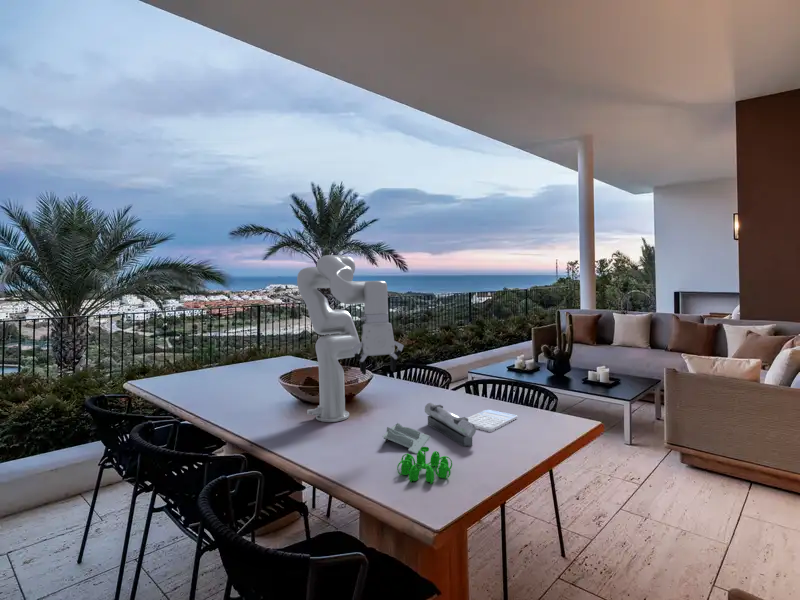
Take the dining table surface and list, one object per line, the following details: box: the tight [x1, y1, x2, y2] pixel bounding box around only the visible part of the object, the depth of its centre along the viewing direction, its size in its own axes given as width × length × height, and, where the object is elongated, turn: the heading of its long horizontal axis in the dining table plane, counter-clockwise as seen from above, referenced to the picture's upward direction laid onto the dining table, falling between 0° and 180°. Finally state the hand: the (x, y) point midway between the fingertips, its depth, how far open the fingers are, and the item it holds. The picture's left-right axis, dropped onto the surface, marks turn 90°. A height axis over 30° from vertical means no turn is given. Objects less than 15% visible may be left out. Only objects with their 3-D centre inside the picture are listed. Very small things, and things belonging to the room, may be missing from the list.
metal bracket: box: [382, 422, 432, 455], centre depth 137 cm, size 14×6×15 cm
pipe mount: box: [424, 402, 477, 448], centre depth 144 cm, size 4×26×7 cm, turn 24°
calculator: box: [466, 408, 519, 433], centre depth 157 cm, size 13×20×2 cm, turn 137°
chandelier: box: [396, 446, 453, 485], centre depth 115 cm, size 15×15×7 cm
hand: (378, 372), depth 138 cm, fingers open, 9 cm apart
